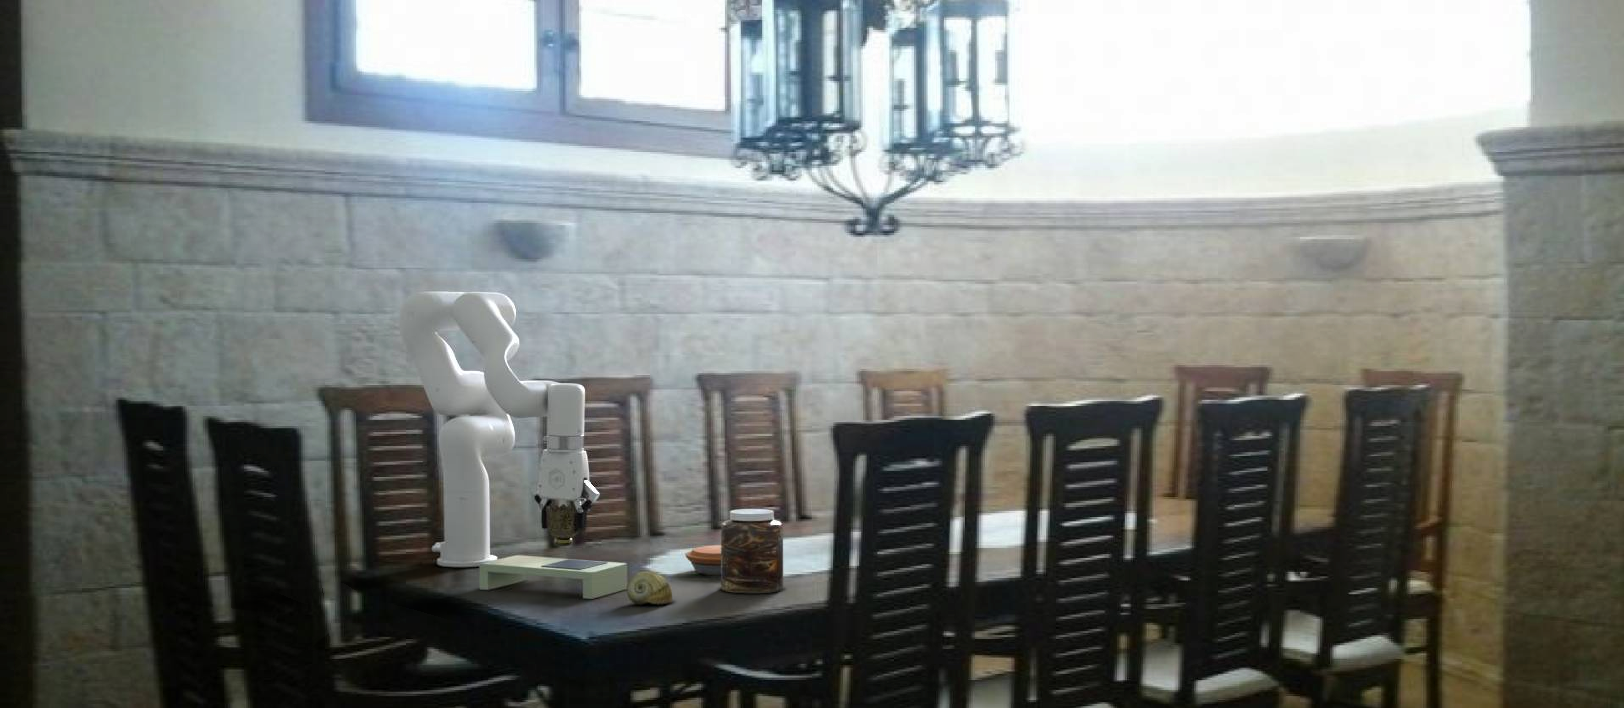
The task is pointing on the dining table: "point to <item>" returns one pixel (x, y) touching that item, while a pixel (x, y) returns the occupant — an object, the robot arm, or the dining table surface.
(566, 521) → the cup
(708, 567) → the pie
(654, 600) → the seashell
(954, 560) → the dining table surface
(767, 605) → the dining table surface
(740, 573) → the jar
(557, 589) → the dining table surface
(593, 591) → the shelf
